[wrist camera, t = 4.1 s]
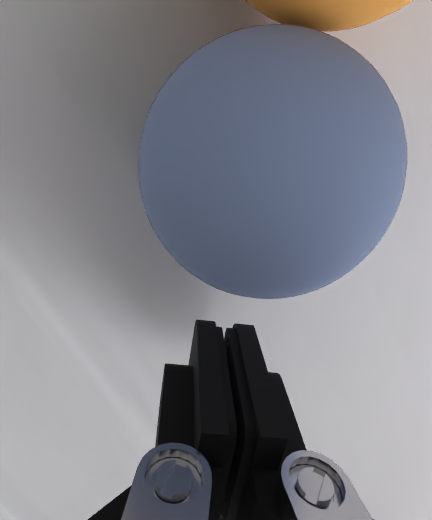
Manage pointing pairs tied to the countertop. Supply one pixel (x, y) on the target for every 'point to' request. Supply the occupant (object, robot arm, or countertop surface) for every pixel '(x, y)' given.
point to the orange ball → (327, 12)
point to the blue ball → (272, 161)
